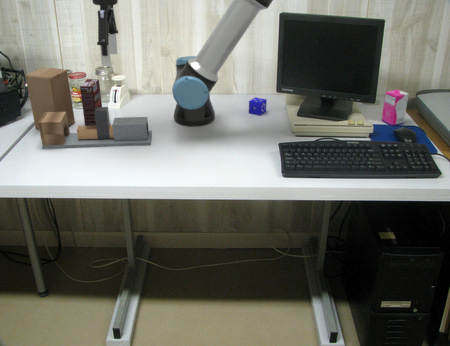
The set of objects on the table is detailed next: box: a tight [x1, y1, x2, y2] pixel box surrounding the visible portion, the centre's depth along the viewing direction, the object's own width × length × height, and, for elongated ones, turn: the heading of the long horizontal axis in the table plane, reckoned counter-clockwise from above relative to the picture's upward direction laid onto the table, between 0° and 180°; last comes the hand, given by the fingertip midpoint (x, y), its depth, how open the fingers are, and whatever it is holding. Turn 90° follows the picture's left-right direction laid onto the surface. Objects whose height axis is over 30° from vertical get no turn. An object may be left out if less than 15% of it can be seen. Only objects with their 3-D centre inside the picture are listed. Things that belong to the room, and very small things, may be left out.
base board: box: [41, 129, 153, 150], centre depth 169 cm, size 35×10×1 cm, turn 94°
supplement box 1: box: [79, 78, 103, 126], centre depth 177 cm, size 9×5×16 cm, turn 178°
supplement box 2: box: [381, 89, 409, 127], centre depth 180 cm, size 6×6×12 cm
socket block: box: [38, 112, 71, 146], centre depth 166 cm, size 7×9×8 cm
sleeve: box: [111, 116, 150, 141], centre depth 168 cm, size 11×7×6 cm, turn 94°
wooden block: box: [25, 66, 76, 130], centre depth 175 cm, size 10×10×20 cm
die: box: [248, 97, 267, 116], centre depth 190 cm, size 5×5×5 cm
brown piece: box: [76, 106, 114, 139], centre depth 166 cm, size 22×4×10 cm, turn 94°
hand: (110, 59), depth 161 cm, fingers open, 13 cm apart
